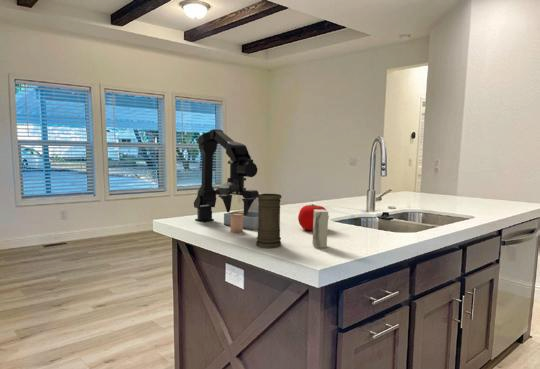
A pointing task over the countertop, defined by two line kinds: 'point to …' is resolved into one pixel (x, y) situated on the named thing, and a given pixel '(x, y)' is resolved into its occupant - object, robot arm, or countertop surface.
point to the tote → (244, 220)
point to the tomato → (308, 216)
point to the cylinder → (236, 223)
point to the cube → (241, 213)
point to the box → (320, 228)
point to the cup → (254, 205)
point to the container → (269, 221)
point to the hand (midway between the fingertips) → (236, 213)
